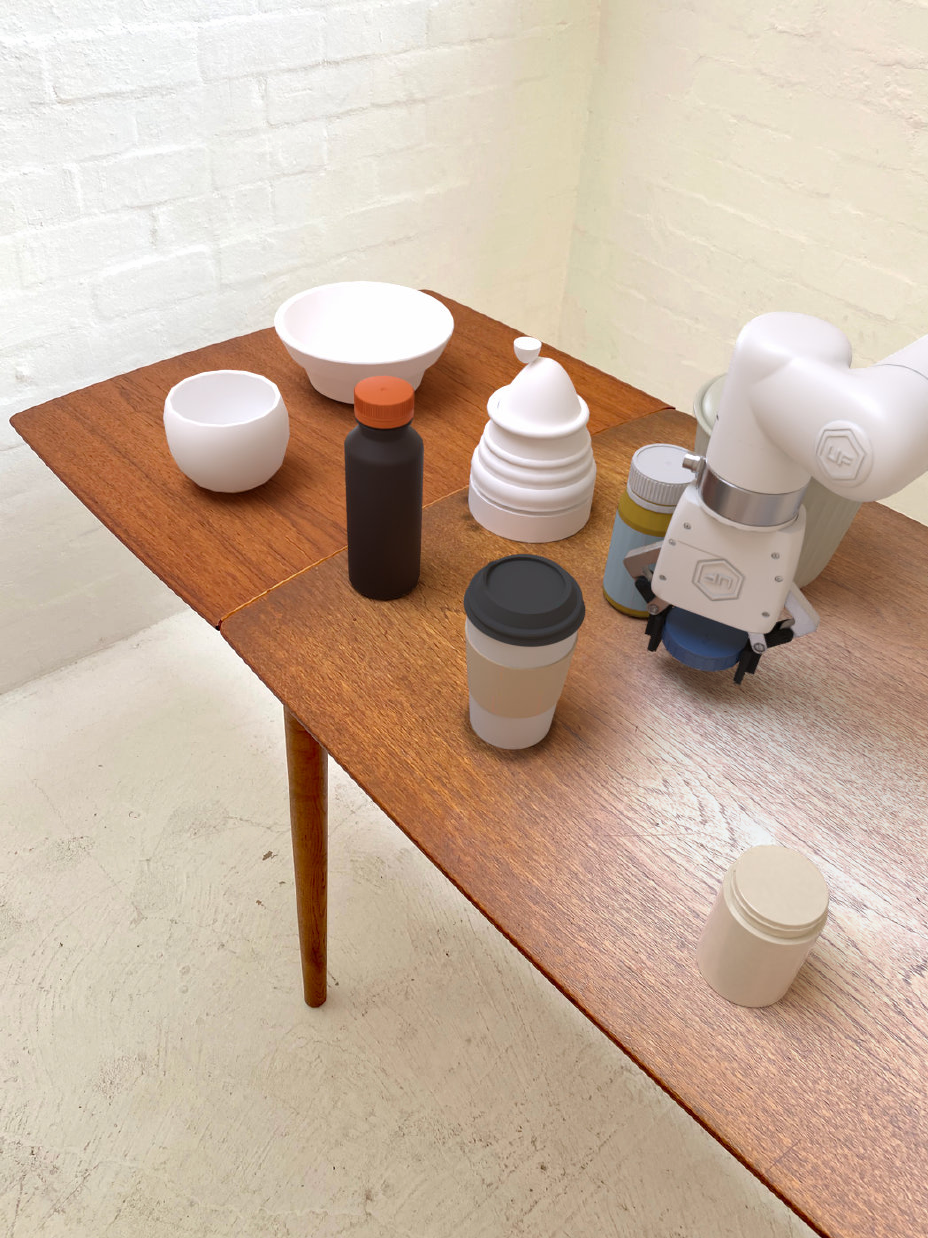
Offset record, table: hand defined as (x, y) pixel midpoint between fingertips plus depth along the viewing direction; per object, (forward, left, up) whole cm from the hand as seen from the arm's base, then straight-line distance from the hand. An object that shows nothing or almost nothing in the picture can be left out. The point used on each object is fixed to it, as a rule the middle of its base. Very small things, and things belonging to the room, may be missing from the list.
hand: (698, 656), depth 84 cm
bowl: (+51, -29, -3) cm, 59 cm away
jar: (-11, +24, -3) cm, 27 cm away
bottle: (+8, -8, -3) cm, 11 cm away
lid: (0, 0, +3) cm, 3 cm away
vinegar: (+30, +2, -3) cm, 30 cm away
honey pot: (+23, -16, -3) cm, 28 cm away
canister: (0, -19, -3) cm, 19 cm away
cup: (+52, -4, -3) cm, 52 cm away
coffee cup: (+12, +12, -3) cm, 17 cm away
